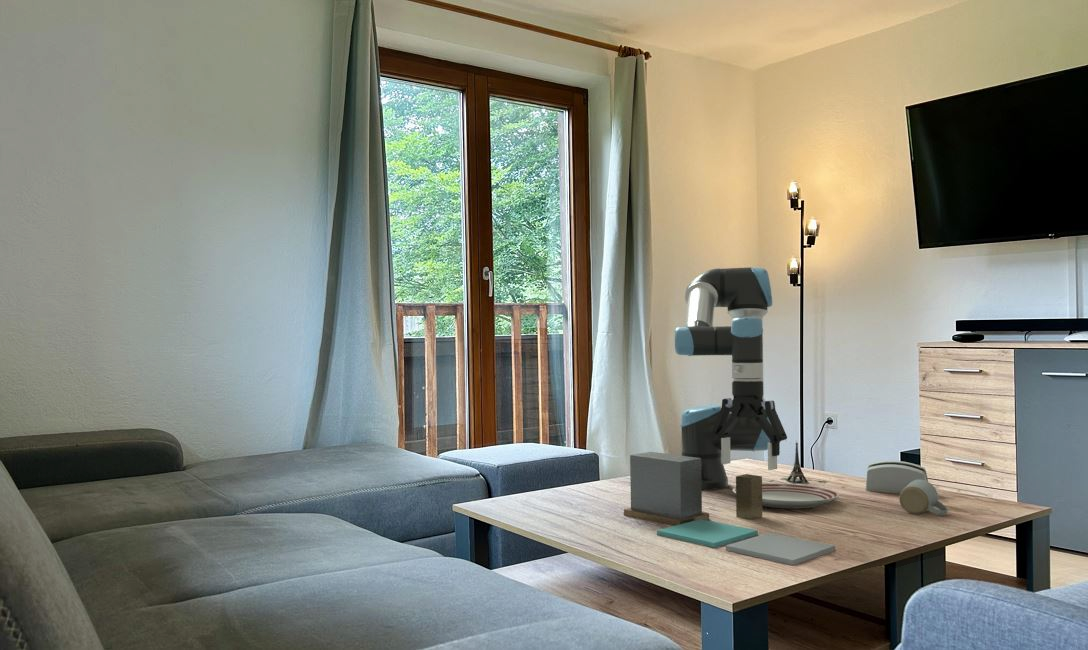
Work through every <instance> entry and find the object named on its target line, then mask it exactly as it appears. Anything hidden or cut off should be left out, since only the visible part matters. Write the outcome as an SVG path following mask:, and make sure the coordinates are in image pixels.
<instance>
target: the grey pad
mask: <svg viewBox="0 0 1088 650" xmlns="http://www.w3.org/2000/svg"><path fill="white" fill-rule="evenodd" d="M834 550H835V551H836V545H835V544H830V543H825V542H818V541H815V540H814V541H813V540H808V539H804V538H799V537H793V536H788V535H783V534H778V533H774V532H767V533H763V534H761V535H756V536H752V537H749V538H745V539H742V540H739V541H735V542H732V543H728V544H725V551H728V552H732V553H737V554H740V555H741V554H742V555H745V556H751V557H755V558H759V559H764V560H768V561H773V562H777V563H781V564H785V565H790V566H794V565H795V566H796V565H797V564H801V563H804V562H806V561H810V560H812V559H815V558H817V557H820V556H823V555H826V554H829V553H832V552H834Z"/></svg>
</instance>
